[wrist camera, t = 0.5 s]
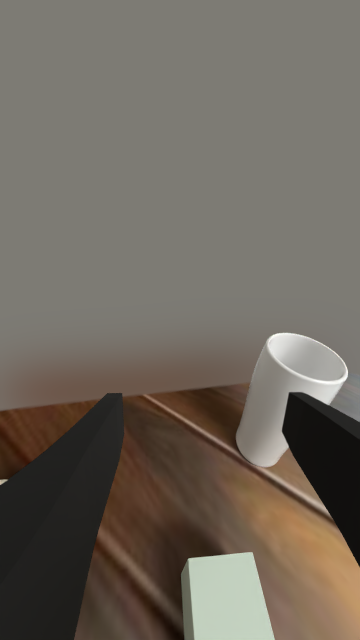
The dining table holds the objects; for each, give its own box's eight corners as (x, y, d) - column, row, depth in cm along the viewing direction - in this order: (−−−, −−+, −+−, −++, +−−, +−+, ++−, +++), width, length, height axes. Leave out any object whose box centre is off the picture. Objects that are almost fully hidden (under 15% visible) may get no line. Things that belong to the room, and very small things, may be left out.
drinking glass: (247, 484, 23) (303, 390, 15) (219, 426, 28) (250, 334, 20) (297, 467, 25) (370, 377, 17) (262, 416, 30) (306, 329, 22)
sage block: (257, 676, 14) (284, 679, 11) (187, 689, 13) (198, 695, 11) (235, 568, 18) (252, 552, 15) (180, 574, 17) (188, 558, 14)
